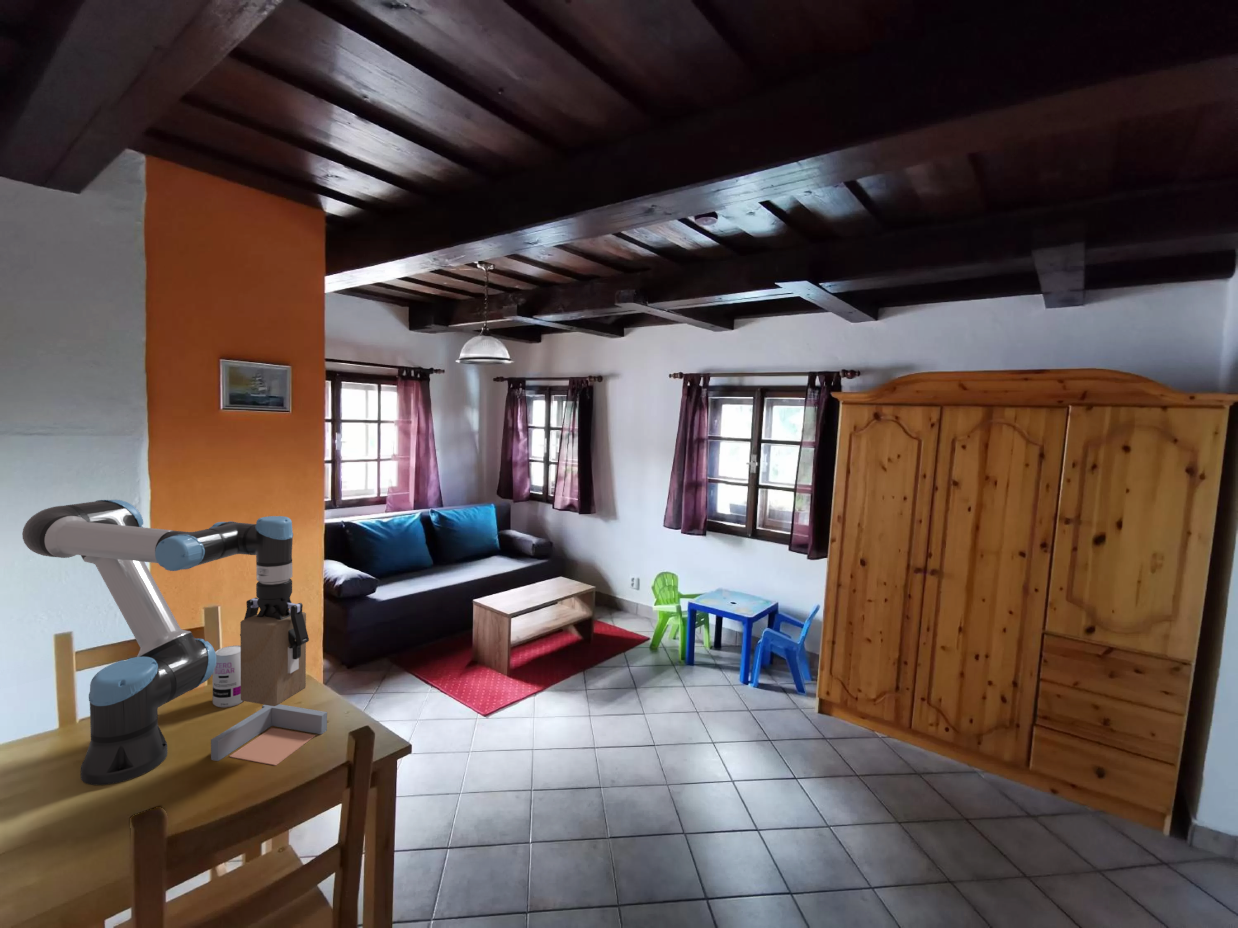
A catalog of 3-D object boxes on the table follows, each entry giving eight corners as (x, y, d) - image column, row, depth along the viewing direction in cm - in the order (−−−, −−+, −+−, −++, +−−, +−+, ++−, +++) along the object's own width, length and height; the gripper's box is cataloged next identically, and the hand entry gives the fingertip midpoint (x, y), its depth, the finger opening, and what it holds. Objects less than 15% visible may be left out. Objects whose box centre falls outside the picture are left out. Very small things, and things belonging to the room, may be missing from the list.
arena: (207, 758, 134) (207, 738, 133) (267, 720, 151) (268, 702, 151) (272, 771, 130) (273, 750, 130) (326, 730, 148) (327, 711, 148)
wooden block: (239, 701, 135) (239, 620, 133) (273, 682, 145) (273, 607, 143) (275, 707, 133) (275, 625, 131) (306, 688, 143) (307, 611, 141)
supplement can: (245, 691, 166) (245, 642, 164) (249, 703, 159) (249, 652, 158) (211, 699, 160) (211, 648, 159) (214, 711, 154) (213, 658, 153)
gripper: (221, 579, 135) (222, 668, 137) (303, 589, 131) (303, 680, 133) (247, 571, 142) (247, 656, 144) (326, 580, 138) (325, 667, 140)
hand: (274, 667), depth 138 cm, fingers closed on wooden block, 10 cm apart
